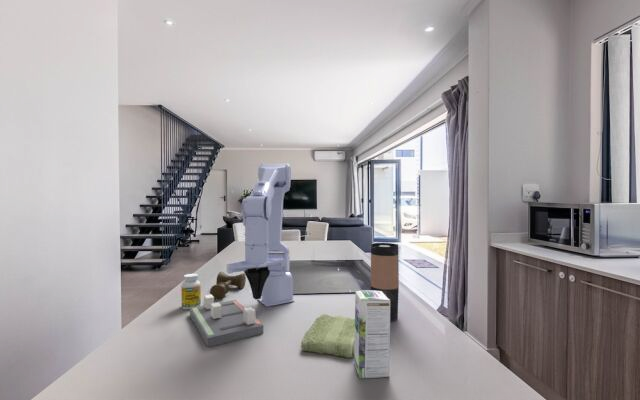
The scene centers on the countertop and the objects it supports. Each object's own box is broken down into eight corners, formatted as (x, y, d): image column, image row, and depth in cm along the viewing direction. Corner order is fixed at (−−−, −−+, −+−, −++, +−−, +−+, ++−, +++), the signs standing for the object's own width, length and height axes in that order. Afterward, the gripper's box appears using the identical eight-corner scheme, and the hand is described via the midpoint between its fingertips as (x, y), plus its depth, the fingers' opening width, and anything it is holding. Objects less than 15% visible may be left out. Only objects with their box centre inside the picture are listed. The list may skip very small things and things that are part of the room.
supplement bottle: (198, 302, 96) (198, 272, 96) (202, 307, 92) (202, 275, 92) (180, 305, 93) (180, 274, 93) (183, 311, 89) (183, 278, 89)
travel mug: (400, 314, 87) (401, 243, 87) (395, 324, 80) (395, 247, 80) (374, 309, 90) (374, 242, 90) (367, 319, 83) (367, 245, 83)
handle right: (211, 304, 88) (211, 294, 88) (214, 307, 85) (214, 297, 85) (204, 306, 87) (204, 295, 87) (206, 309, 84) (206, 298, 84)
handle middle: (218, 313, 81) (218, 302, 81) (221, 317, 78) (221, 305, 78) (210, 315, 80) (210, 303, 80) (213, 319, 77) (213, 307, 77)
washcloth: (367, 327, 79) (367, 315, 79) (356, 362, 62) (356, 347, 62) (318, 322, 82) (318, 310, 82) (295, 353, 65) (295, 338, 65)
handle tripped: (251, 318, 77) (251, 307, 77) (255, 323, 75) (255, 310, 75) (243, 320, 76) (243, 308, 76) (247, 324, 74) (247, 312, 74)
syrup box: (353, 362, 61) (353, 290, 61) (382, 361, 62) (382, 289, 62) (359, 379, 55) (359, 299, 55) (391, 377, 56) (391, 298, 56)
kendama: (202, 301, 99) (224, 282, 119) (231, 302, 99) (249, 283, 119) (202, 283, 99) (225, 267, 119) (231, 284, 98) (249, 268, 118)
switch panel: (235, 306, 93) (235, 299, 93) (263, 333, 74) (263, 324, 74) (189, 315, 86) (189, 307, 86) (207, 347, 67) (207, 337, 67)
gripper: (232, 248, 69) (232, 308, 69) (289, 243, 77) (289, 297, 77) (224, 244, 75) (224, 299, 75) (278, 240, 83) (278, 290, 83)
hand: (256, 298), depth 77 cm, fingers closed
